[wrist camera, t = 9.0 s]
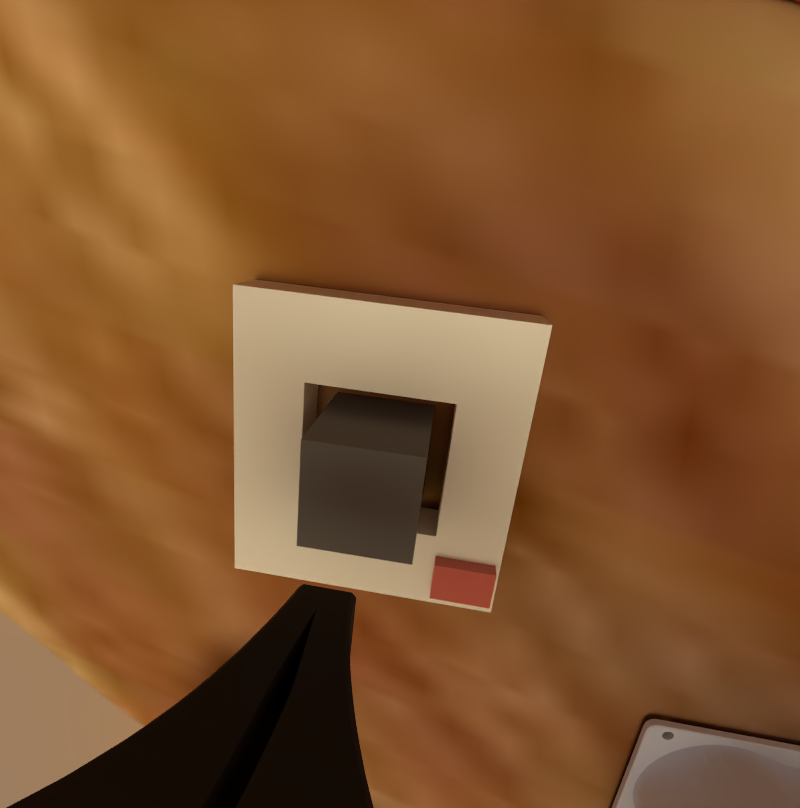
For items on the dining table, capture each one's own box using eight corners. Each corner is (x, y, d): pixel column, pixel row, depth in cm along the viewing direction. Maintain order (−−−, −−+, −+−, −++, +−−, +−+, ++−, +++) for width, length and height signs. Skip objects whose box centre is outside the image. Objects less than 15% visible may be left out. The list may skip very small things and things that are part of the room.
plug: (435, 405, 20) (426, 457, 15) (422, 491, 21) (412, 564, 17) (338, 391, 20) (300, 439, 15) (332, 477, 22) (296, 545, 17)
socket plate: (543, 315, 18) (555, 328, 16) (488, 580, 22) (491, 623, 20) (255, 279, 19) (224, 285, 17) (253, 540, 23) (228, 576, 21)
